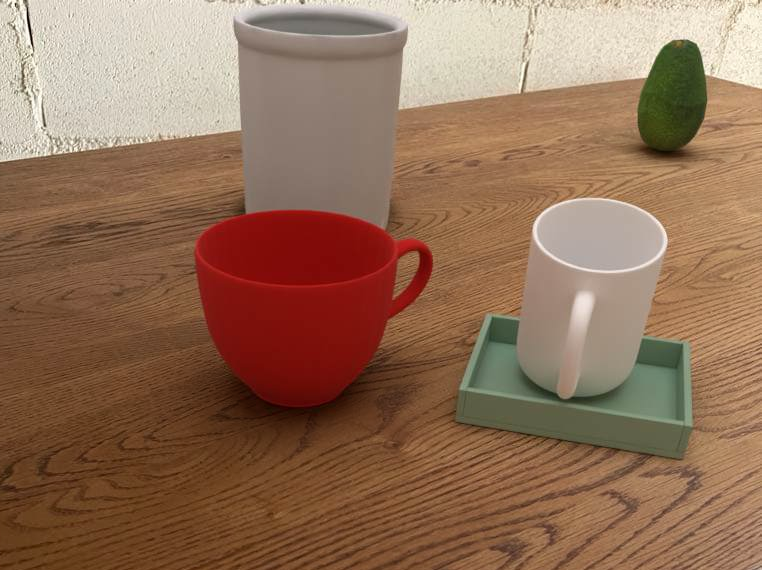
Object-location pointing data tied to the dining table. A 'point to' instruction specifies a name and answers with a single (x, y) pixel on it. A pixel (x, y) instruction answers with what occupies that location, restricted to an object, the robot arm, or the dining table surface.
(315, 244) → the ceramic cup
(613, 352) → the cup
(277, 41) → the utensil holder
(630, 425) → the sage green tray
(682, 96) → the avocado
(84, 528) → the dining table surface
